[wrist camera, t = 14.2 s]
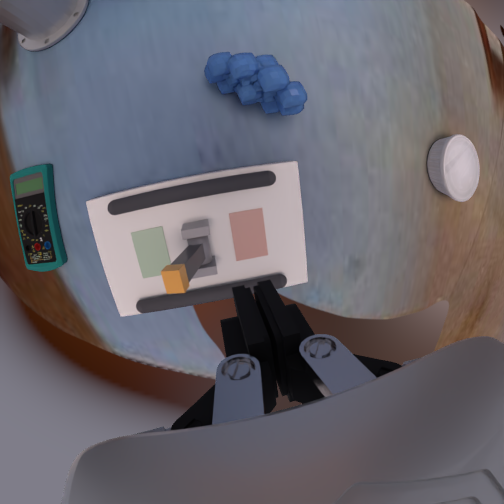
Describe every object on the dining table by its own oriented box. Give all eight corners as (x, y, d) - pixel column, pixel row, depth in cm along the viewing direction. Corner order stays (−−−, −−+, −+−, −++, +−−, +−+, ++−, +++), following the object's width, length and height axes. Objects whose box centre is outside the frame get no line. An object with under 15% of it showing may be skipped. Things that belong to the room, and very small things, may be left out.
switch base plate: (94, 198, 32) (74, 206, 26) (289, 160, 35) (307, 162, 29) (125, 305, 38) (114, 330, 32) (300, 273, 41) (317, 293, 35)
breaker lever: (190, 234, 32) (156, 267, 24) (210, 232, 32) (181, 265, 23) (195, 257, 34) (165, 297, 25) (214, 256, 33) (188, 296, 24)
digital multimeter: (34, 267, 34) (25, 274, 31) (17, 172, 29) (6, 174, 26) (70, 263, 35) (62, 271, 32) (54, 161, 30) (44, 162, 27)
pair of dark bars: (108, 200, 30) (103, 203, 28) (272, 169, 32) (276, 169, 30) (139, 309, 35) (137, 316, 33) (285, 282, 37) (289, 288, 36)
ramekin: (429, 123, 36) (451, 122, 31) (464, 150, 39) (484, 152, 34) (415, 183, 39) (437, 187, 34) (451, 204, 42) (471, 210, 37)
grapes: (300, 91, 32) (341, 68, 21) (276, 133, 34) (310, 123, 22) (221, 50, 29) (231, 7, 18) (195, 91, 30) (192, 60, 19)
